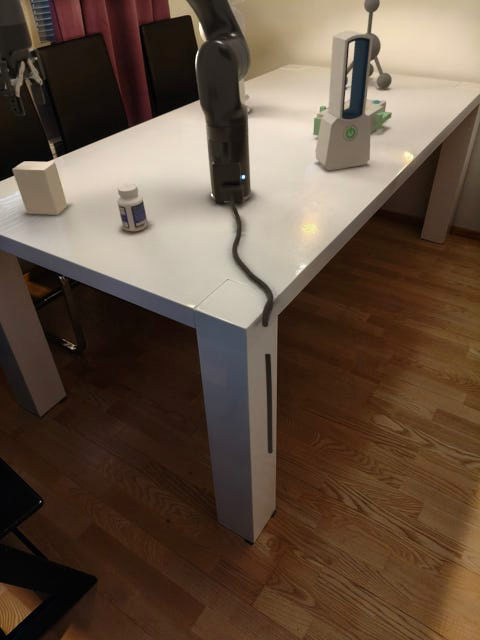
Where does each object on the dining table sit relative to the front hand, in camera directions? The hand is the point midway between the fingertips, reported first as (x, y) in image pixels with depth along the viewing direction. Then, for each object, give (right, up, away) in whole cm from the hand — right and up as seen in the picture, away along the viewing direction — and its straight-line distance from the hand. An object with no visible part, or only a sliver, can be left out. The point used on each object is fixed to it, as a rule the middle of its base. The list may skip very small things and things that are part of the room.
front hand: (30, 109), depth 104 cm
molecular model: (+92, +48, +90) cm, 137 cm away
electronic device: (+72, -3, +25) cm, 76 cm away
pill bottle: (+22, -25, +2) cm, 33 cm away
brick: (-1, -19, +11) cm, 22 cm away
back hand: (+9, +69, +60) cm, 92 cm away
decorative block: (+79, +14, +47) cm, 93 cm away
